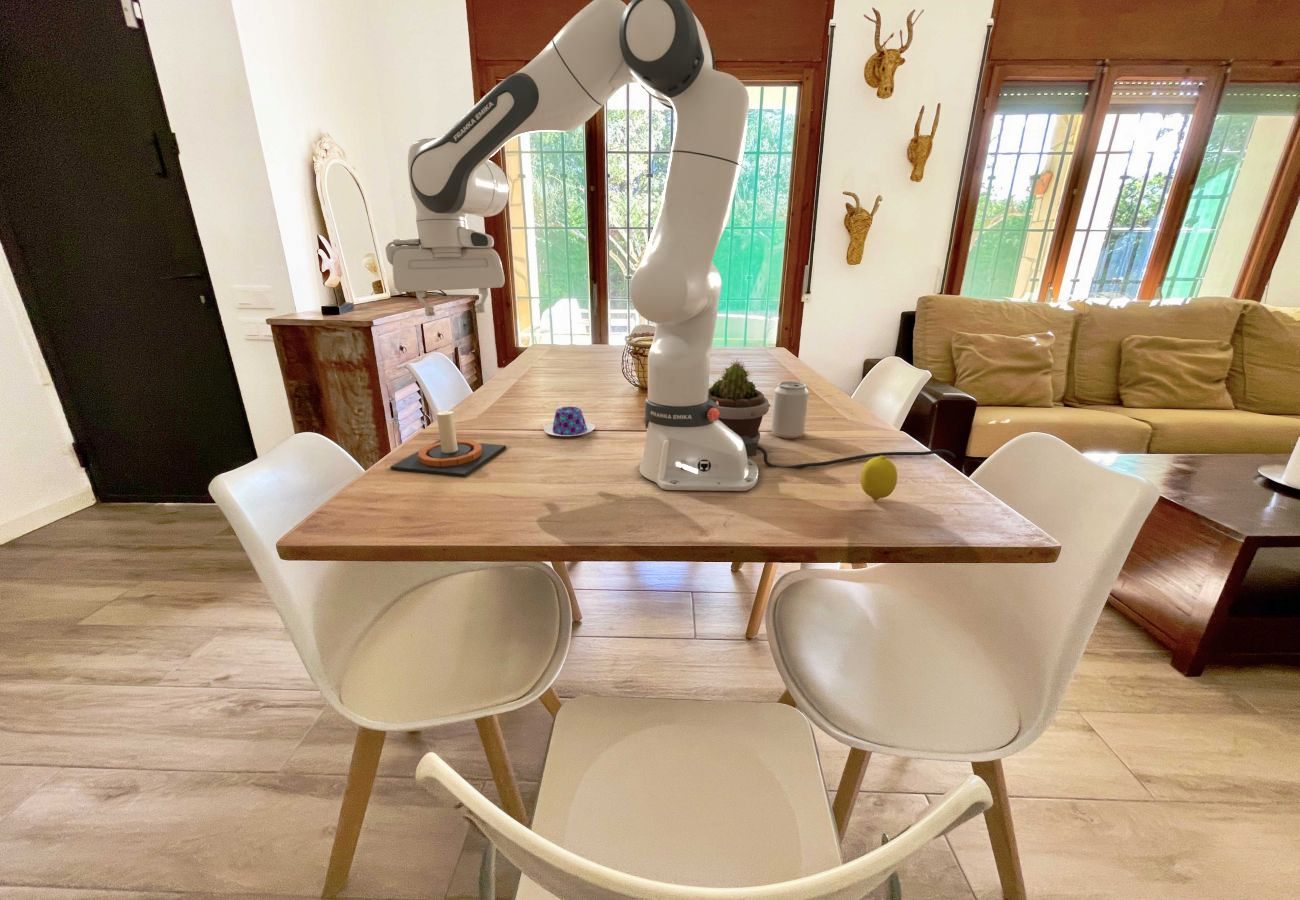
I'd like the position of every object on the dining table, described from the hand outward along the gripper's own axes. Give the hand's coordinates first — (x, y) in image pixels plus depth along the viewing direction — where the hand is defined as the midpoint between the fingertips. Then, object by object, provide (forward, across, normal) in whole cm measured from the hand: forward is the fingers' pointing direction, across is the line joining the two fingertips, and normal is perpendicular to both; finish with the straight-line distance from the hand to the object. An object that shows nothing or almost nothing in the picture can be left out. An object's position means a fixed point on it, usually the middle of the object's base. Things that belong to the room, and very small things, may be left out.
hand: (455, 314), depth 102 cm
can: (+31, +65, -24) cm, 76 cm away
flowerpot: (+30, +49, -24) cm, 63 cm away
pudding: (+28, +22, +2) cm, 36 cm away
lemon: (+32, +55, -57) cm, 86 cm away
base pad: (+28, -6, -4) cm, 29 cm away
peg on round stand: (+27, -6, -4) cm, 28 cm away
